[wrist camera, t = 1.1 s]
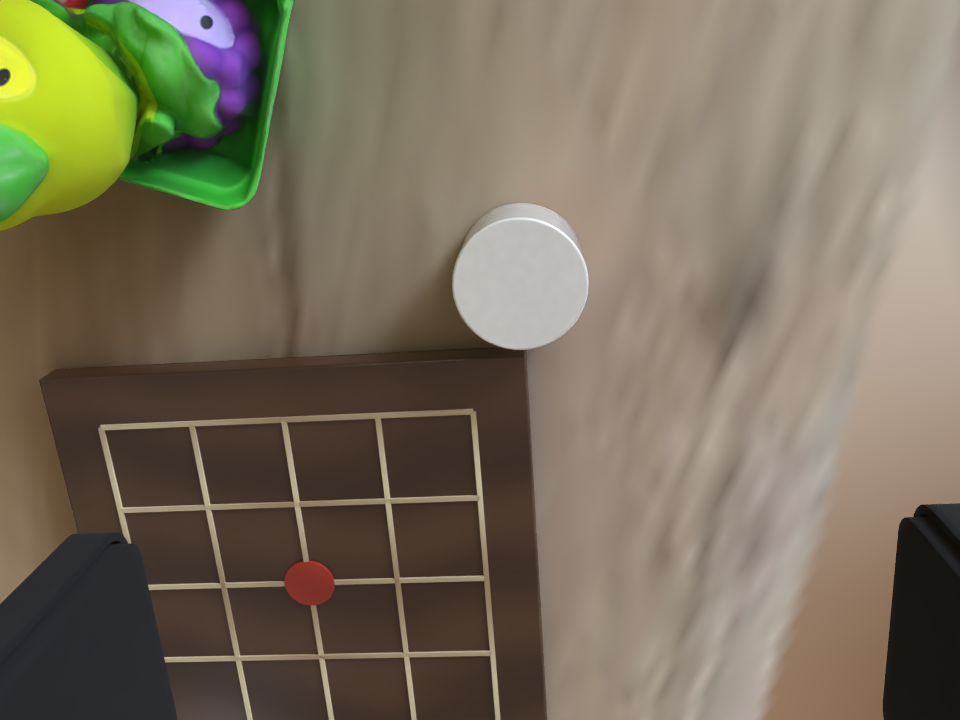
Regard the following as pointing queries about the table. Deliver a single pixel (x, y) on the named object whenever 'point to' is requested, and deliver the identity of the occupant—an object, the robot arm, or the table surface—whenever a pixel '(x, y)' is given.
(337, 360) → the board
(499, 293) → the white round puck
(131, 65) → the fruit basket
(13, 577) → the table surface
